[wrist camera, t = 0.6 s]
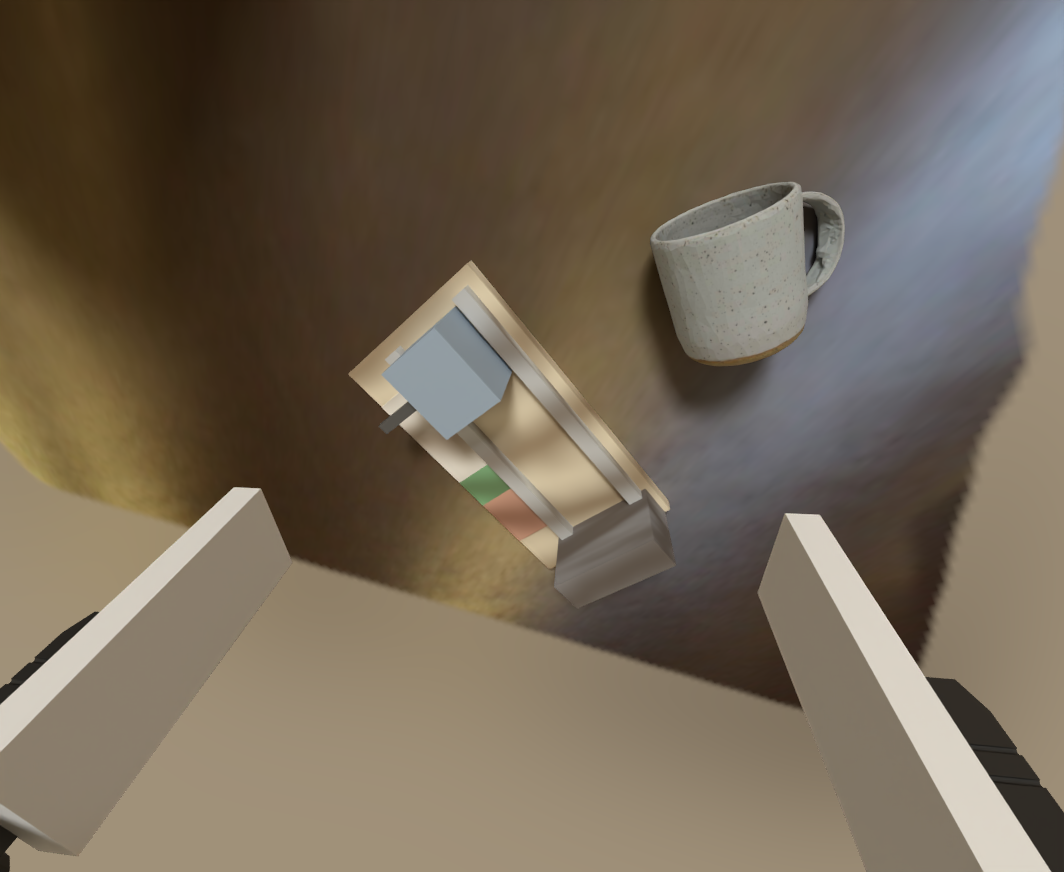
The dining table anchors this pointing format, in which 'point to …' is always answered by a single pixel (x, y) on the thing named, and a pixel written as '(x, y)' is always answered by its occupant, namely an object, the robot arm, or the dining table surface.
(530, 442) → the gauge base
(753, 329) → the ceramic mug
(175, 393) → the dining table surface
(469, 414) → the carriage
